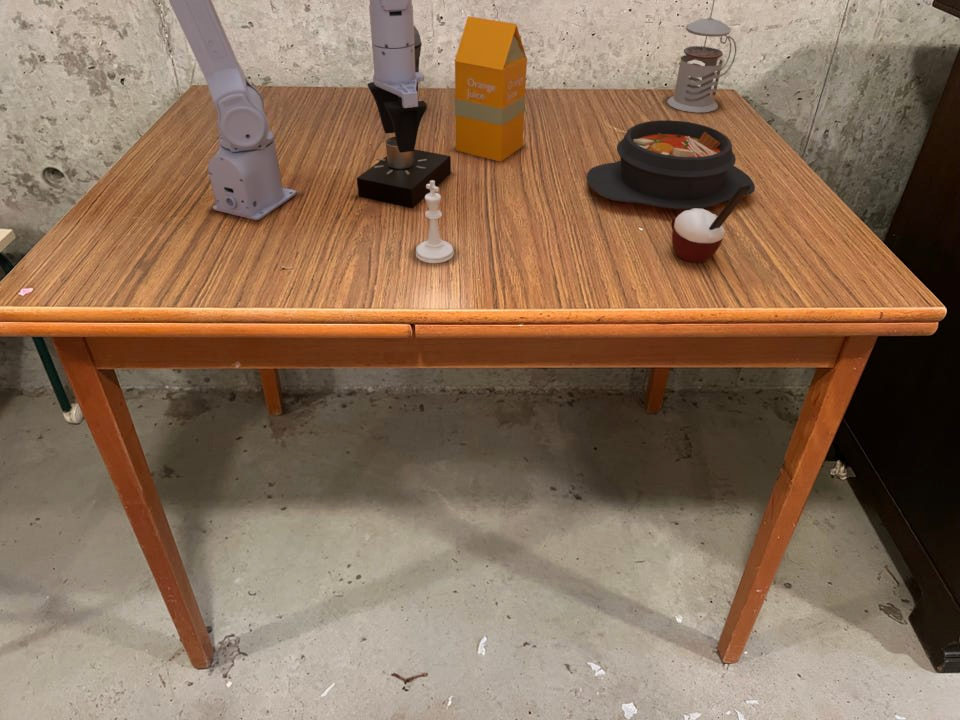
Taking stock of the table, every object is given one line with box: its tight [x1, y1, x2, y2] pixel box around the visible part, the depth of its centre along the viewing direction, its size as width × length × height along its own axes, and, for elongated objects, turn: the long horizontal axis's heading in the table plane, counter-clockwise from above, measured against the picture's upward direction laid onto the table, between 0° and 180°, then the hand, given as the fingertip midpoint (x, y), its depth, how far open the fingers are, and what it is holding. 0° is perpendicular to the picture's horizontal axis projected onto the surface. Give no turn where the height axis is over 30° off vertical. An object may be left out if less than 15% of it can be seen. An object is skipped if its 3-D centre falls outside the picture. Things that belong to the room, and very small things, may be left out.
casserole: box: [586, 119, 756, 210], centre depth 101 cm, size 25×19×8 cm
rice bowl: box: [670, 185, 751, 263], centre depth 85 cm, size 10×6×12 cm, turn 6°
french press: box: [666, 0, 737, 113], centre depth 127 cm, size 10×12×25 cm
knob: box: [385, 136, 414, 169], centre depth 102 cm, size 4×4×4 cm
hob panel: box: [356, 148, 452, 209], centre depth 104 cm, size 13×10×3 cm
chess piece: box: [415, 180, 455, 264], centre depth 86 cm, size 5×5×10 cm
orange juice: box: [454, 15, 528, 163], centre depth 110 cm, size 8×9×20 cm
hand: (398, 141), depth 101 cm, fingers open, 7 cm apart
